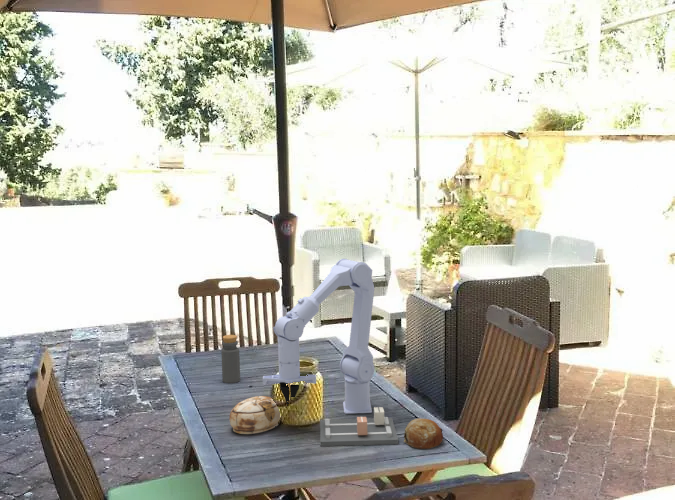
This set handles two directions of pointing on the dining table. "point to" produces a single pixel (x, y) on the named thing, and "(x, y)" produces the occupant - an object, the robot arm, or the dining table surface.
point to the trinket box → (254, 415)
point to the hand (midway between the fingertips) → (290, 408)
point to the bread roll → (423, 434)
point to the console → (346, 432)
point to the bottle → (230, 359)
